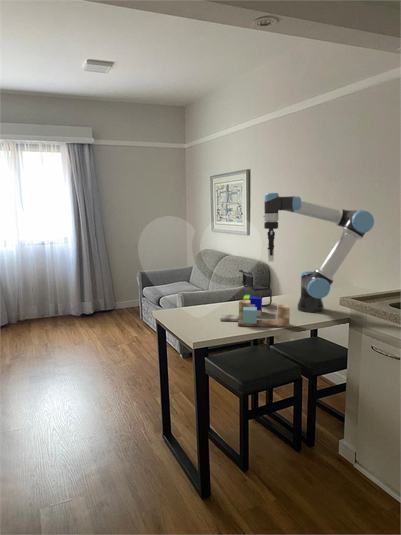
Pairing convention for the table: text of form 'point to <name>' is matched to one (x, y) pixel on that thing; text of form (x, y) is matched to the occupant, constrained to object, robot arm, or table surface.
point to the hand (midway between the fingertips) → (270, 259)
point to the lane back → (236, 317)
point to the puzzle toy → (255, 302)
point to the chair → (249, 283)
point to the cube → (250, 315)
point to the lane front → (282, 320)
